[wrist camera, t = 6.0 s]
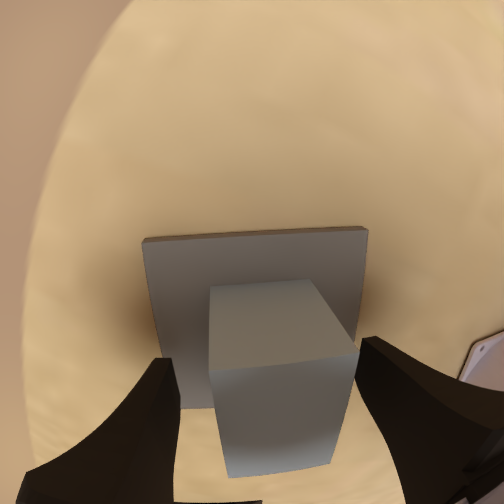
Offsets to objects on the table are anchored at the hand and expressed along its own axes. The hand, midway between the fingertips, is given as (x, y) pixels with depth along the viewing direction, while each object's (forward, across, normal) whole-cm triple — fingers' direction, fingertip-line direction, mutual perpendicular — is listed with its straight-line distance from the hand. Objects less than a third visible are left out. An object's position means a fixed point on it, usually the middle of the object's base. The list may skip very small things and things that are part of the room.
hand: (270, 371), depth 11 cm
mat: (+3, 0, 0) cm, 3 cm away
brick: (+2, 0, 0) cm, 2 cm away
